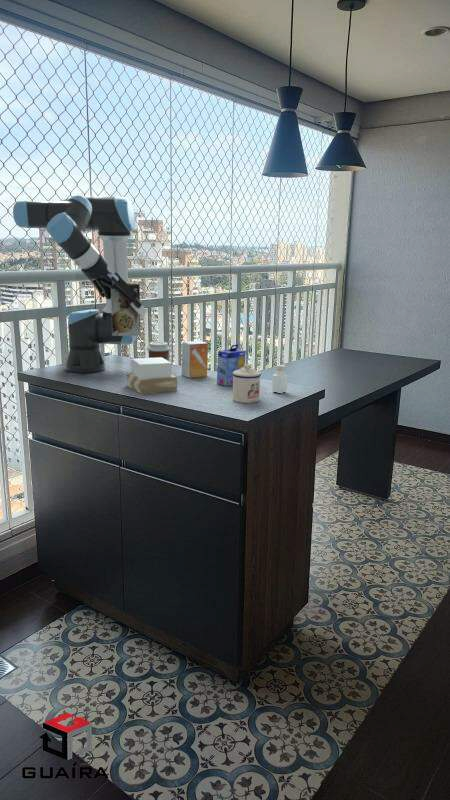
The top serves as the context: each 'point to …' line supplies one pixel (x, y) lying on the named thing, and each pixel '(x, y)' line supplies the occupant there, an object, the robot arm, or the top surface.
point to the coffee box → (124, 314)
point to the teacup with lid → (246, 385)
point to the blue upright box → (229, 364)
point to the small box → (194, 359)
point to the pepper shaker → (279, 380)
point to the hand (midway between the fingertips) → (133, 312)
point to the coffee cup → (158, 350)
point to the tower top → (151, 368)
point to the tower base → (151, 384)
